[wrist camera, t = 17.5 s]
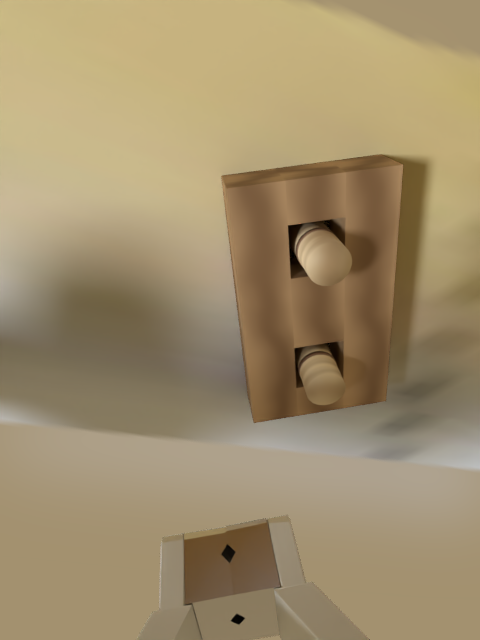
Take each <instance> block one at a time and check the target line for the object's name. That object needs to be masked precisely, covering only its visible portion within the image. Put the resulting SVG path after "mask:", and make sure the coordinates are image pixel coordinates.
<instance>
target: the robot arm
mask: <svg viewBox="0 0 480 640" xmlns="http://www.w3.org/2000/svg"><path fill="white" fill-rule="evenodd" d="M159 596H160V597H159V610H158V611H154V612H152V613H151V615H150V617H149V619H148V620H147V622H146V624H145V626H144V627H143V629H142V631H141V633H140V634H139V636H138V638H137V640H253V639H259V638H265V637H271V636H277V635H280V638H281V639H282V640H370V639H369V638H368V637H367V636H366V635H365V634H364V633H363V632H362V631H361V630H360V629H359V628H358V627H357V626H356V625H355V624H354V623H353V622H352V621H351V620H350V619H349V618H348V617H347V616H346V615H345V614H344V613H343V612H342V611H341V610H340V609H339V608H338V607H337V606H336V605H335V604H334V603H333V602H332V601H331V600H330V599H329V598H328V597H327V596H326V595H325V594H324V593H323V592H322V591H321V590H320V589H319V588H318V587H317V586H316V585H315V584H314V583H313V582H308V583H306V580H305V576H304V572H303V569H302V564H301V560H300V557H299V552H298V549H297V545H296V541H295V537H294V533H293V529H292V525H291V521H290V518H289V517H288V515H284V516H279V517H274V518H269V519H266V518H265V519H260V520H254V521H249V522H245V523H240V524H234V525H229V526H226V527H222V528H216V529H210V530H203V531H197V532H191V533H184V534H178V535H172V536H167V537H163V538H162V542H161V558H160V593H159Z"/></svg>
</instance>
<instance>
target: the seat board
mask: <svg viewBox="0 0 480 640" xmlns="http://www.w3.org/2000/svg"><path fill="white" fill-rule="evenodd" d="M402 175H403V164H401V163H399V162H397V161H394V160H392V159H390V158H388V157H386V156H383V155H381V154H380V155H373V156H365V157H358V158H350V159H343V160H335V161H328V162H320V163H313V164H306V165H298V166H291V167H283V168H276V169H268V170H261V171H253V172H246V173H239V174H231V175H224V176H221V177H222V185H223V194H224V202H225V210H226V219H227V227H228V235H229V243H230V252H231V260H232V268H233V277H234V285H235V293H236V302H237V310H238V318H239V326H240V335H241V343H242V351H243V360H244V368H245V376H246V385H247V393H248V399H249V403H250V407H251V412H252V416H253V421H254V423H256V422H262V421H269V420H275V419H281V418H287V417H293V416H299V415H305V414H311V413H317V412H323V411H329V410H335V409H341V408H347V407H353V406H359V405H365V404H371V403H377V402H383V401H386V394H387V380H388V367H389V353H390V339H391V326H392V312H393V298H394V285H395V271H396V257H397V244H398V230H399V216H400V202H401V189H402ZM323 220H329V221H330V230H331V231H332V232H333V233H334V234H335V235H336V236H337V237H338V239H339V240H340V241H341V242H342V244H343V245H344V246H345V247H346V248H347V249H348V250H349V252H350V254H351V257H352V266H351V269H350V271H349V273H348V275H347V276H346V277H345V278H344V279H343V280H342V281H340V282H339V283H337V284H334V285H331V286H321V285H318V284H316V283H314V282H313V281H312V280H311V279H310V278H309V276H308V274H307V273H306V271H305V270H304V268H303V267H302V266H301V264H300V263H299V261H298V260H297V257H294V258H290V256H289V237H288V225H295V224H302V223H309V222H316V221H323ZM324 343H330V351H331V353H332V356H333V357H334V359H335V361H336V363H337V367H338V369H339V371H340V373H341V376H342V378H343V380H344V382H345V386H346V388H345V392H344V394H343V396H342V397H341V398H340V399H339V400H338V401H336V402H334V403H332V404H329V405H317V404H314V403H312V402H311V401H310V400H309V399H308V397H307V394H306V391H305V388H304V385H303V382H302V379H301V378H300V375H299V372H298V367H297V364H296V361H295V352H294V348H299V347H305V346H311V345H318V344H324Z"/></svg>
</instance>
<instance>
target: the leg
mask: <svg viewBox="0 0 480 640" xmlns="http://www.w3.org/2000/svg"><path fill="white" fill-rule="evenodd" d="M294 352H295V361H296V364H297V367H298V372H299V375H300V378H301V379H302V382H303V385H304V388H305V391H306V394H307V397H308V399H309V400H310V401H311V402H312V403H314V404H317V405H329V404H332V403H334V402H336V401H338V400H339V399H340V398H341V397H342V396H343V394H344V392H345V388H346V386H345V382H344V380H343V378H342V376H341V373H340V371H339V369H338V367H337V363H336V361H335V359H334V357H333V356H332V353H331V351H330V349H329V347H328V345H327V343H324V344H318V345H311V346H305V347H299V348H294Z"/></svg>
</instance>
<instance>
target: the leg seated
mask: <svg viewBox="0 0 480 640" xmlns="http://www.w3.org/2000/svg"><path fill="white" fill-rule="evenodd" d="M288 237H289V245H290V247H291V249H292V250H293V252H294V253H295V255H296V257H297V260H298V261H299V263H300V264H301V266H302V267H303V268H304V270H305V271H306V273H307V274H308V276H309V278H310V279H311V280H312V281H313V282H314V283H316V284H318V285H321V286H331V285H334V284H337V283H339V282H340V281H342V280H343V279H344V278H345V277H346V276H347V275H348V273H349V271H350V269H351V266H352V257H351V254H350V252H349V250H348V249H347V248H346V247H345V246H344V245H343V244H342V242H341V241H340V240H339V239H338V237H337V236H336V235H335V234H334V233H333V232H332V231H331V230H330V229H329V228H328V227H327V226H326V225H325V224H324V223H323V222H322V221H316V222H309V223H302V224H295V225H288Z"/></svg>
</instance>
